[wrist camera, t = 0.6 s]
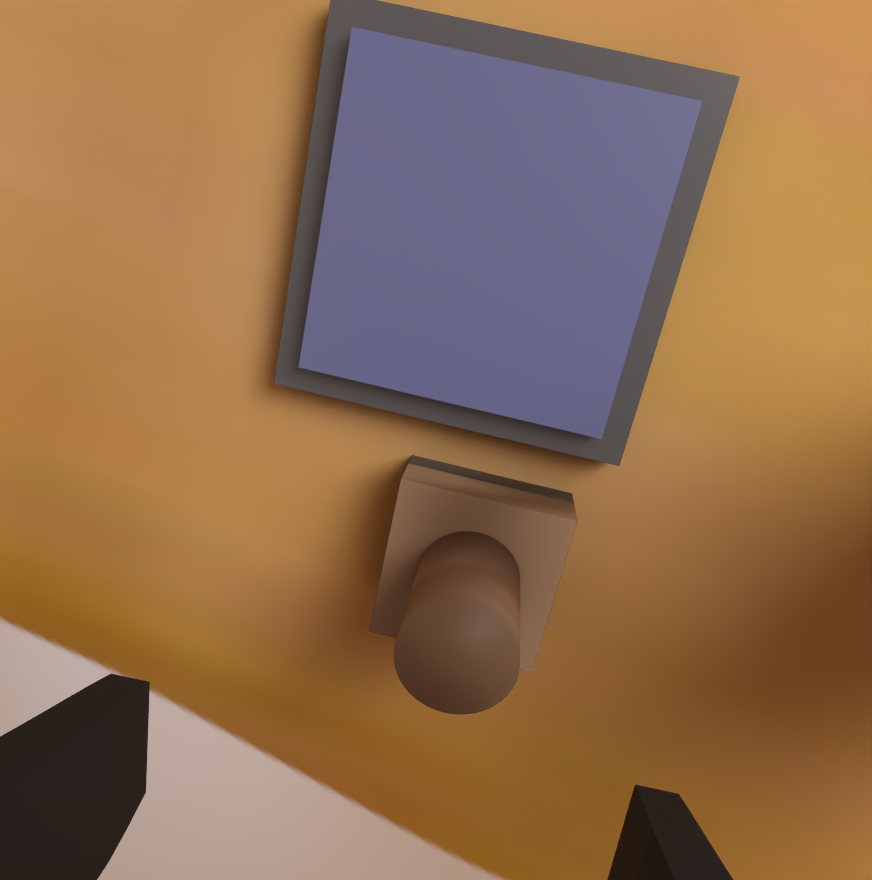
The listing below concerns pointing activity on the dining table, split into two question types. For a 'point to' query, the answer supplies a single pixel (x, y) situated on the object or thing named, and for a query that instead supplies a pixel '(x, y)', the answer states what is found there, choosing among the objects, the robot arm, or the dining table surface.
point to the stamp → (469, 581)
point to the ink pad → (493, 224)
